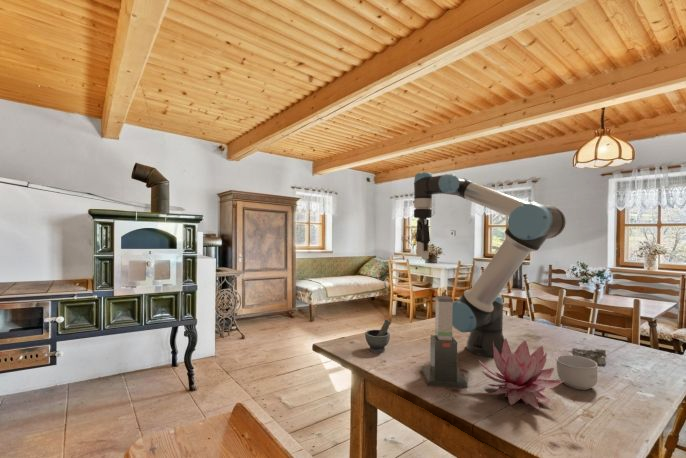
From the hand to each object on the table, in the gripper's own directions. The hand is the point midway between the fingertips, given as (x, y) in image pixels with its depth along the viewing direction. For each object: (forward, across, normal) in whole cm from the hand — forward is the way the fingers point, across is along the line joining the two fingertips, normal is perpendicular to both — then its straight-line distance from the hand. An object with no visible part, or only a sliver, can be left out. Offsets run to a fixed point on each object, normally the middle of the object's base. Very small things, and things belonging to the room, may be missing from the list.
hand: (422, 257), depth 146 cm
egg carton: (+37, +14, +61) cm, 73 cm away
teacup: (+37, +36, +43) cm, 67 cm away
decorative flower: (+37, +47, +20) cm, 63 cm away
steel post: (+30, +36, +1) cm, 47 cm away
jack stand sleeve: (+37, +36, +1) cm, 51 cm away
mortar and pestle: (+37, +12, -19) cm, 43 cm away
